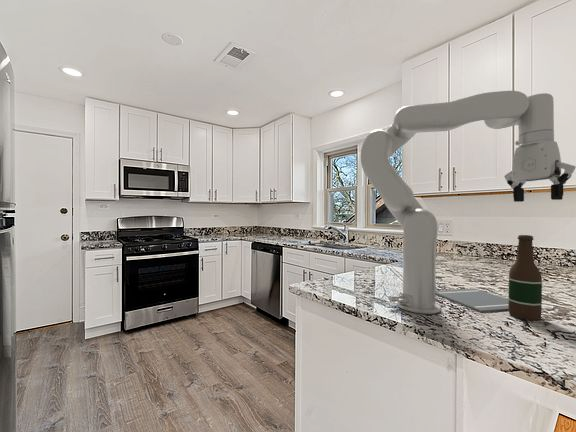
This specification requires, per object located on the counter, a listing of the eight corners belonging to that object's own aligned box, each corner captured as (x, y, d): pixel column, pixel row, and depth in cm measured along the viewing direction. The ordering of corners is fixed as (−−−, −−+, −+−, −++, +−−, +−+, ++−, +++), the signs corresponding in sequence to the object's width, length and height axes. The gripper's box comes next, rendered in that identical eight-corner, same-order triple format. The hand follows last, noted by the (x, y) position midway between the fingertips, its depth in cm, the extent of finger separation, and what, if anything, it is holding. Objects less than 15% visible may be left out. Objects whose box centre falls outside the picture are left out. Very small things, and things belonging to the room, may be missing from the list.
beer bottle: (548, 322, 78) (550, 236, 78) (516, 320, 80) (518, 236, 80) (530, 312, 86) (532, 234, 86) (502, 310, 87) (503, 234, 87)
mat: (480, 312, 86) (480, 310, 86) (430, 292, 107) (430, 290, 107) (533, 308, 90) (533, 306, 90) (474, 290, 111) (474, 288, 111)
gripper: (496, 147, 87) (496, 202, 87) (562, 130, 70) (563, 198, 70) (514, 148, 89) (515, 202, 89) (583, 132, 72) (584, 198, 72)
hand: (536, 200), depth 80 cm, fingers open, 9 cm apart
